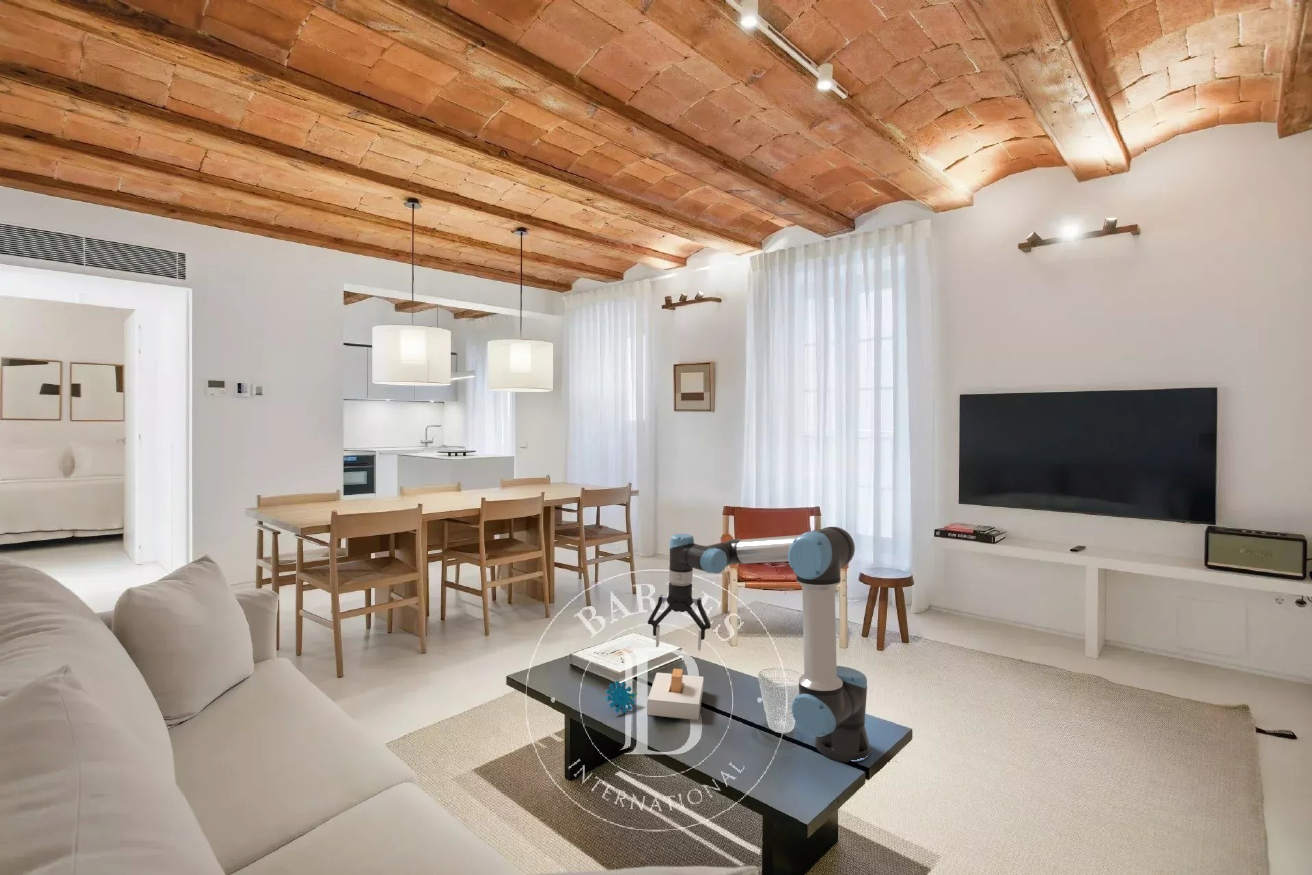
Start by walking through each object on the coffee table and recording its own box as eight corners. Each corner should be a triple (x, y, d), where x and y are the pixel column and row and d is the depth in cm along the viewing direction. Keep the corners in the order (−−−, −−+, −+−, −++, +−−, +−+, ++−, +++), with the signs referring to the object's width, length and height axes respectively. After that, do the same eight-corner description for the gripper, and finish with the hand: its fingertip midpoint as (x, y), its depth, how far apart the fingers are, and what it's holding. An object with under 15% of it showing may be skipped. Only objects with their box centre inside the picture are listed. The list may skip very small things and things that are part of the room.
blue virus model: (612, 712, 205) (604, 681, 210) (603, 720, 208) (596, 689, 214) (642, 709, 211) (634, 678, 216) (633, 716, 214) (626, 686, 220)
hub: (698, 719, 205) (698, 704, 205) (647, 714, 207) (647, 699, 207) (703, 691, 225) (703, 676, 225) (656, 686, 227) (656, 672, 227)
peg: (681, 698, 219) (682, 669, 218) (679, 707, 213) (680, 677, 212) (672, 697, 219) (673, 668, 219) (670, 706, 213) (671, 676, 213)
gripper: (640, 583, 211) (638, 648, 213) (718, 588, 208) (716, 654, 209) (643, 576, 219) (642, 639, 220) (720, 582, 215) (717, 646, 217)
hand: (678, 647), depth 215 cm, fingers open, 13 cm apart
